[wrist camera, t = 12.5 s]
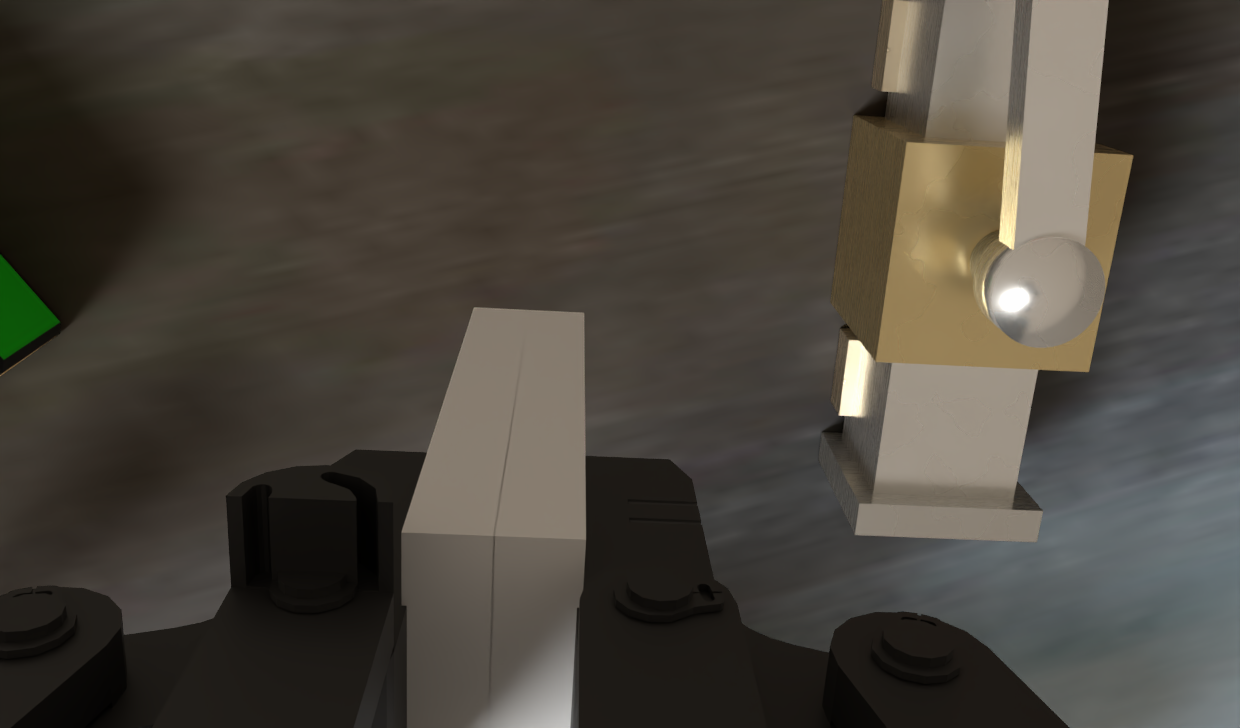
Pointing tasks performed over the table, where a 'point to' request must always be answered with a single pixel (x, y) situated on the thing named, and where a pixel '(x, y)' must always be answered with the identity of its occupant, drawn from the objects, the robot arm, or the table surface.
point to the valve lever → (1048, 178)
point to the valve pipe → (939, 288)
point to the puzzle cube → (21, 319)
